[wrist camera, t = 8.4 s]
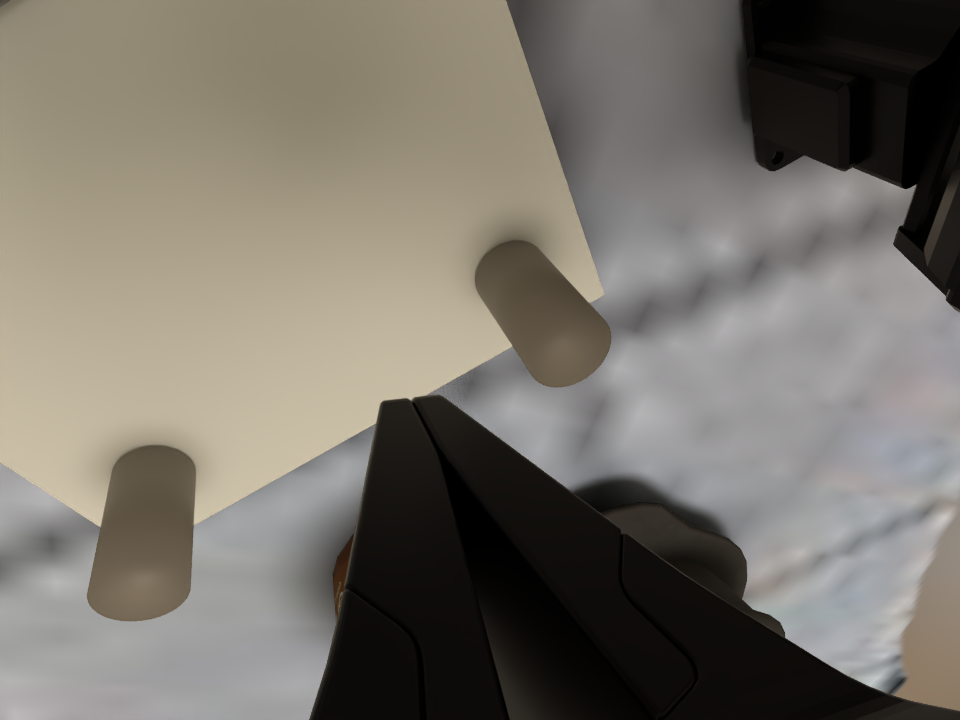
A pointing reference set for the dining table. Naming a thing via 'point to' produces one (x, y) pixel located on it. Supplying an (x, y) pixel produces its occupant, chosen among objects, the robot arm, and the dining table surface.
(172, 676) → the dining table surface
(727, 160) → the dining table surface
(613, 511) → the casserole
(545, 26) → the dining table surface
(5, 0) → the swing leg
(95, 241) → the cream square peg board
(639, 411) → the dining table surface
